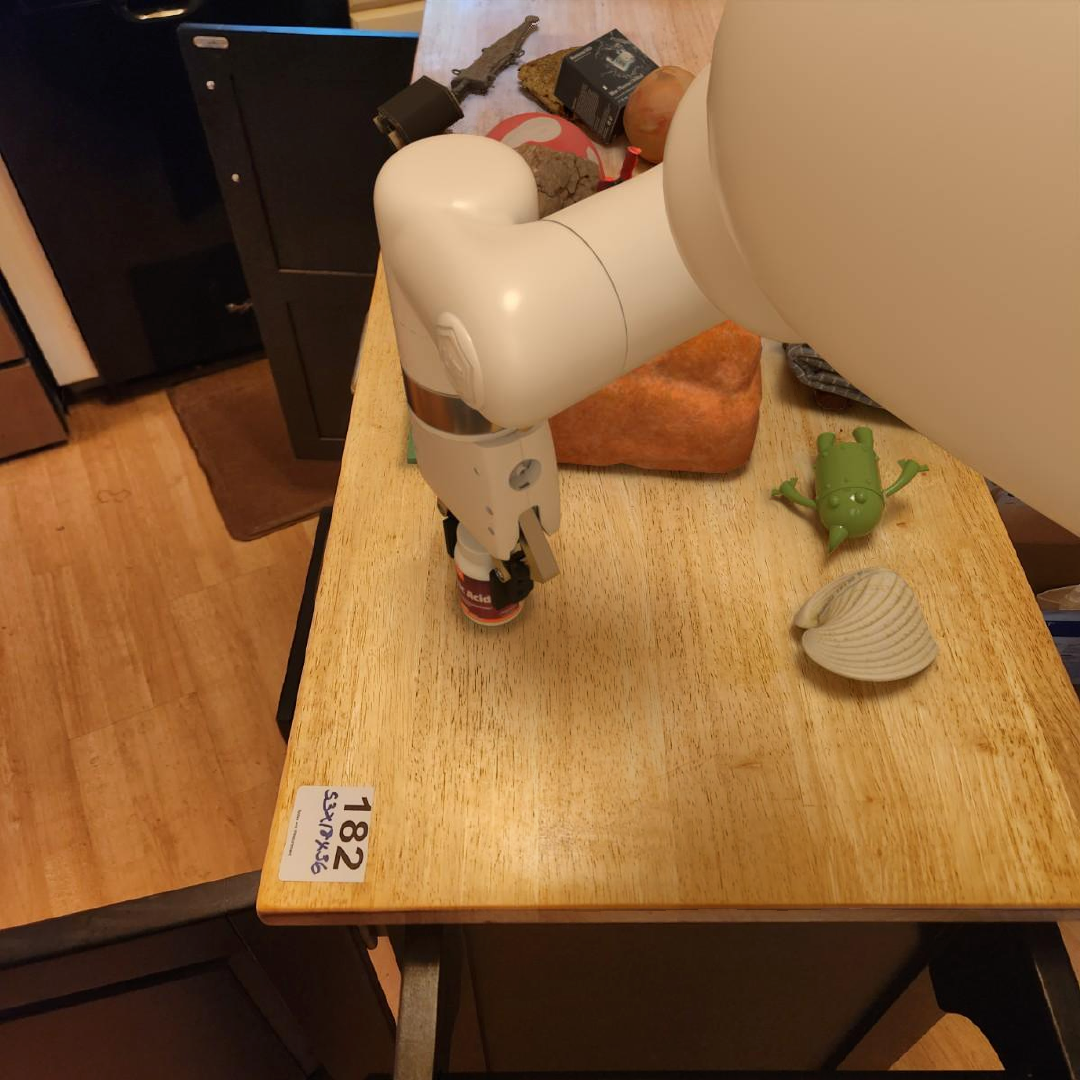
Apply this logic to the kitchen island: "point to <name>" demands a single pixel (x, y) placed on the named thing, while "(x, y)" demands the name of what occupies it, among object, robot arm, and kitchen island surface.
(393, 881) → the kitchen island surface
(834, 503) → the character figure
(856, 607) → the seashell
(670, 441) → the bread
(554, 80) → the pastry
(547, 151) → the rock
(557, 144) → the decorative mushroom
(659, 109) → the onion
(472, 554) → the pill bottle
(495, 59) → the decorative dagger
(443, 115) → the camera
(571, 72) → the box
